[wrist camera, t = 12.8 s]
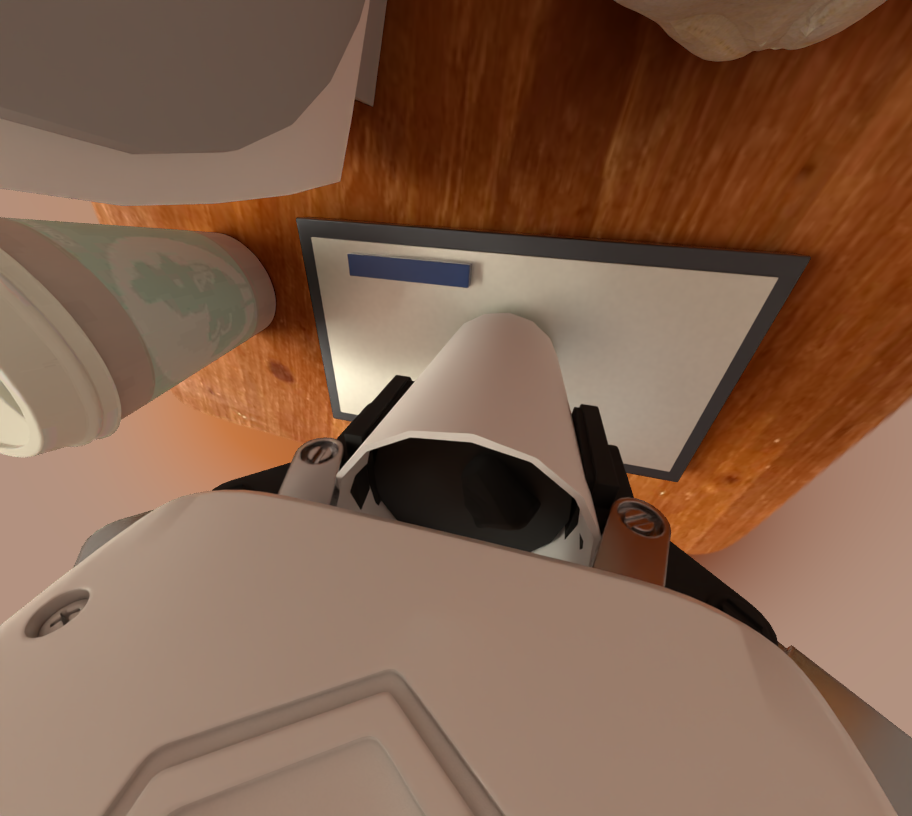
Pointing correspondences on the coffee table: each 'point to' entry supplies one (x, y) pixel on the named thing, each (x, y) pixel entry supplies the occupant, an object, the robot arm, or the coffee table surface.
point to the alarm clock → (181, 96)
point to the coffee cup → (112, 322)
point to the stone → (750, 23)
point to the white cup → (484, 446)
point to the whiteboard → (551, 318)
